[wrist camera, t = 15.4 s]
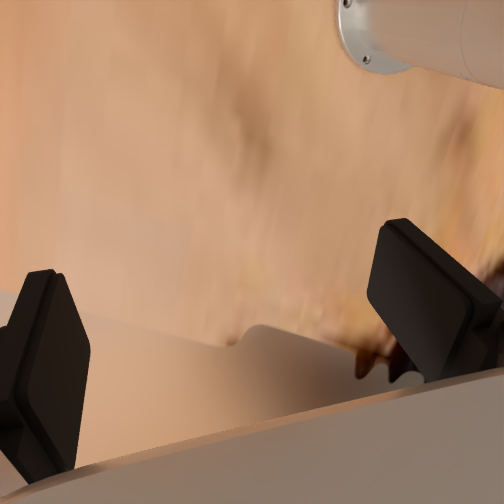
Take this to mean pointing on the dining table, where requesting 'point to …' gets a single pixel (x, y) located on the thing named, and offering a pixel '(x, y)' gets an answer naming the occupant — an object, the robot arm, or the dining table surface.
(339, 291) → the dining table surface
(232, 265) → the dining table surface
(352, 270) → the dining table surface
